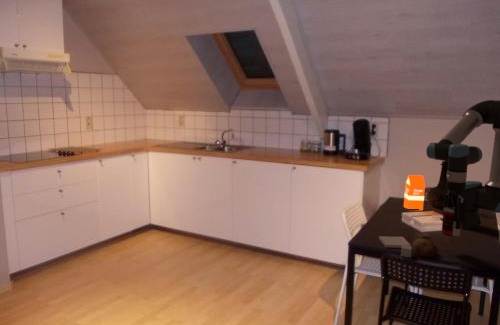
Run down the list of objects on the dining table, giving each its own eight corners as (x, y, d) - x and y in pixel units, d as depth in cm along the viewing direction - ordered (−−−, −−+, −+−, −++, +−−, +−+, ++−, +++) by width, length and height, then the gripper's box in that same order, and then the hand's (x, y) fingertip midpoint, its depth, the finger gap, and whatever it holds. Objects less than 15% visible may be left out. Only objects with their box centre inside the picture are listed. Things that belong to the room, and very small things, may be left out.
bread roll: (410, 256, 190) (403, 240, 188) (431, 246, 190) (425, 230, 188) (420, 265, 180) (414, 249, 179) (442, 255, 180) (436, 238, 179)
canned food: (459, 231, 188) (462, 207, 186) (462, 238, 181) (464, 213, 179) (440, 229, 191) (442, 206, 189) (442, 235, 183) (444, 211, 181)
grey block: (410, 255, 181) (411, 246, 181) (410, 258, 178) (411, 249, 177) (400, 253, 183) (401, 244, 182) (400, 257, 179) (401, 248, 178)
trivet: (402, 239, 200) (402, 236, 200) (410, 248, 189) (411, 245, 189) (378, 238, 200) (379, 236, 200) (385, 247, 190) (386, 244, 189)
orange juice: (423, 210, 250) (426, 176, 246) (407, 210, 250) (410, 176, 246) (418, 206, 258) (421, 174, 254) (403, 206, 258) (406, 173, 254)
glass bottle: (464, 212, 249) (470, 164, 244) (433, 211, 249) (438, 163, 244) (450, 203, 266) (455, 159, 261) (421, 203, 266) (425, 158, 261)
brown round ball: (423, 242, 197) (424, 232, 196) (430, 246, 192) (431, 235, 191) (413, 243, 196) (414, 232, 195) (420, 247, 191) (421, 236, 190)
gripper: (437, 175, 192) (432, 224, 196) (458, 186, 171) (453, 240, 176) (453, 175, 192) (449, 224, 196) (477, 186, 171) (471, 241, 176)
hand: (451, 232), depth 186 cm, fingers closed on canned food, 8 cm apart
